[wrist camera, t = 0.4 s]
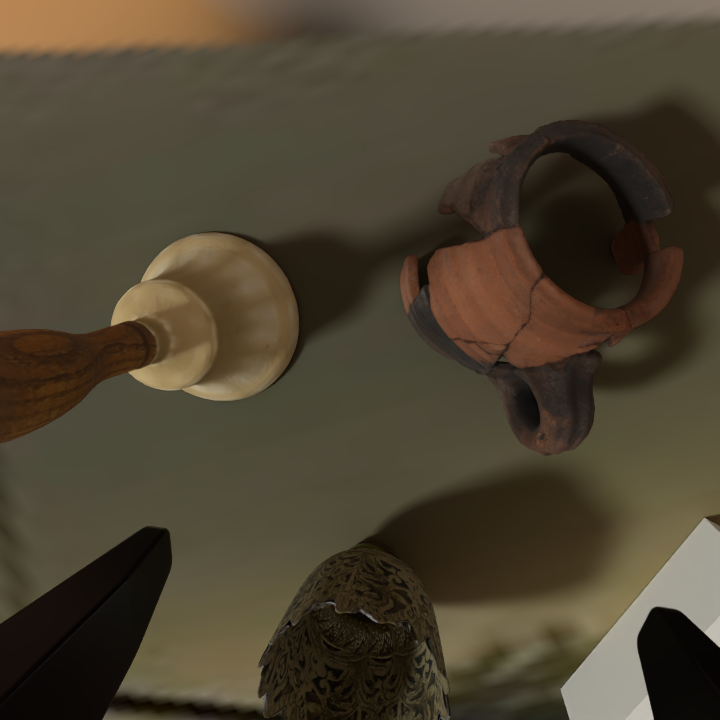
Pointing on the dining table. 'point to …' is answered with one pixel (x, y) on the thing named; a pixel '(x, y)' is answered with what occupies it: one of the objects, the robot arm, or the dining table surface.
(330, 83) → the dining table surface
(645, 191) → the pottery mug
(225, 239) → the hand bell
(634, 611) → the key panel
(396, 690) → the cup
